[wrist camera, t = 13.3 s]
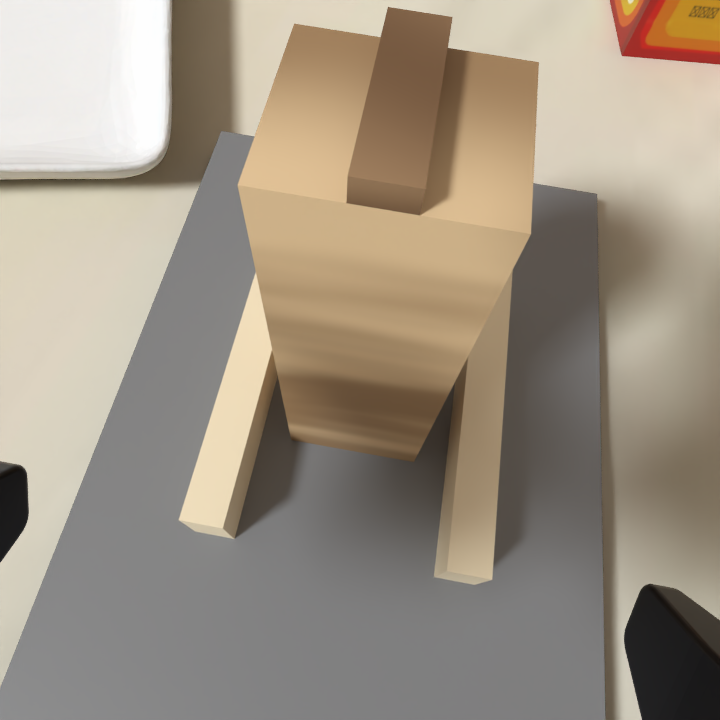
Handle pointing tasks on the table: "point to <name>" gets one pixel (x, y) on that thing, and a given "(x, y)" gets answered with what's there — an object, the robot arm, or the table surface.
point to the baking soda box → (669, 29)
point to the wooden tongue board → (385, 222)
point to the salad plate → (84, 87)
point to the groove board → (333, 516)
